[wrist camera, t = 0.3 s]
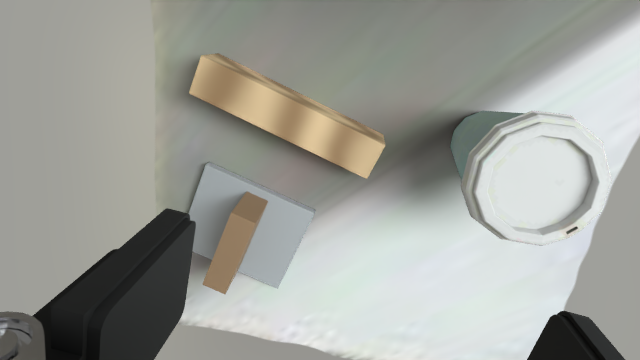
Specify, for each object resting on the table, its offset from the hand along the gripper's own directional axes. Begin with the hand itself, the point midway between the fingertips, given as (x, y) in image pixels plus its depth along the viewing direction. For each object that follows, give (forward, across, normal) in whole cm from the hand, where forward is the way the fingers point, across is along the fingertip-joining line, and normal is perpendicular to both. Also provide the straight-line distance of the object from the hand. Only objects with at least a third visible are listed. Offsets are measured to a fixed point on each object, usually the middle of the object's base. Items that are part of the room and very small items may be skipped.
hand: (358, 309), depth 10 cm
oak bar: (+35, +7, +2) cm, 36 cm away
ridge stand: (+35, +10, +18) cm, 40 cm away
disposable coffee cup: (+35, -14, 0) cm, 38 cm away
